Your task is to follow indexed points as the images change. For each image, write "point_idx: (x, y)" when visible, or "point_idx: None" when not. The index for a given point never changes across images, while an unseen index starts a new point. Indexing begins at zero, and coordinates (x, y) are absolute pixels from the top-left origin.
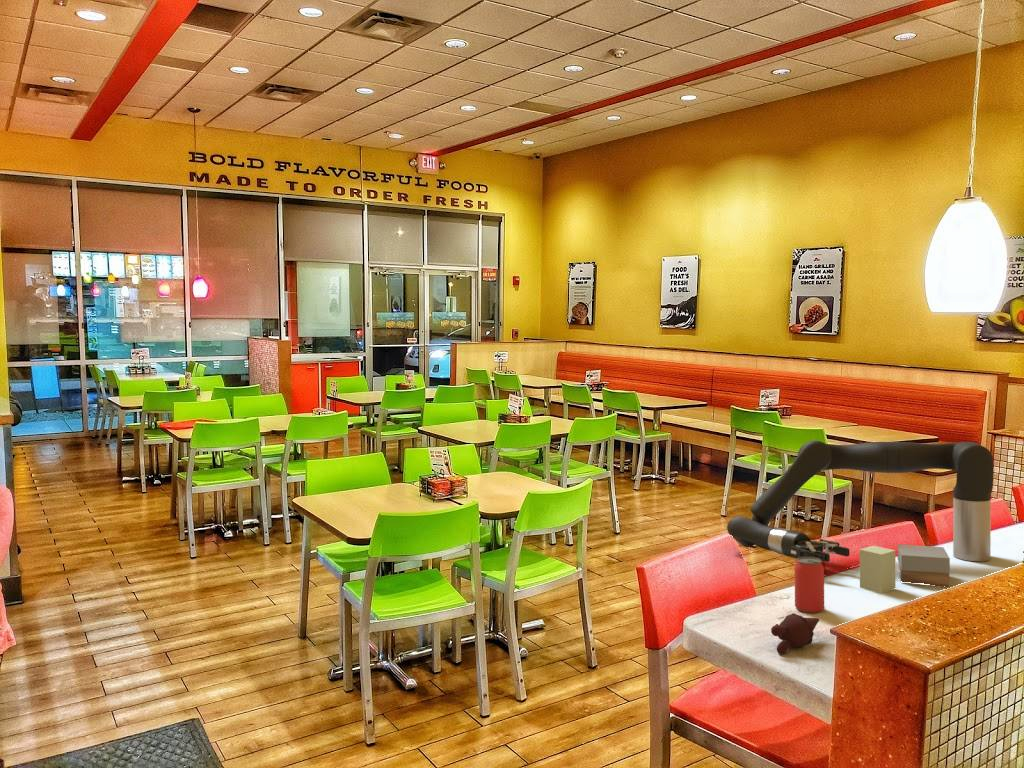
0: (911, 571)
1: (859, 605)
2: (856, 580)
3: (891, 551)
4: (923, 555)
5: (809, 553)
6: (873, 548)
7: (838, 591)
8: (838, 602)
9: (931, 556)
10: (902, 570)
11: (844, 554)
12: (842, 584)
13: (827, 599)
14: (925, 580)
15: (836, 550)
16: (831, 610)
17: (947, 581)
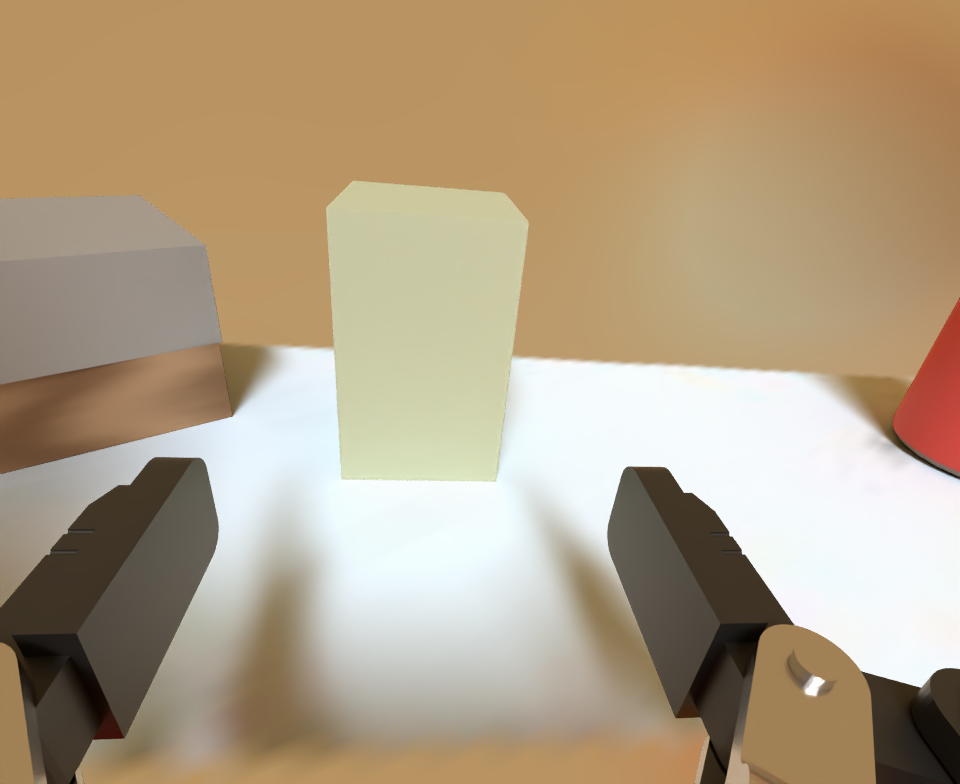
0: None
1: (694, 394)
2: (373, 556)
3: (394, 184)
4: (142, 219)
5: (916, 692)
6: (414, 204)
7: None
8: (772, 438)
9: (144, 210)
10: (218, 343)
11: (198, 561)
12: (549, 560)
13: (815, 475)
14: None
15: (110, 679)
16: (851, 416)
17: None
